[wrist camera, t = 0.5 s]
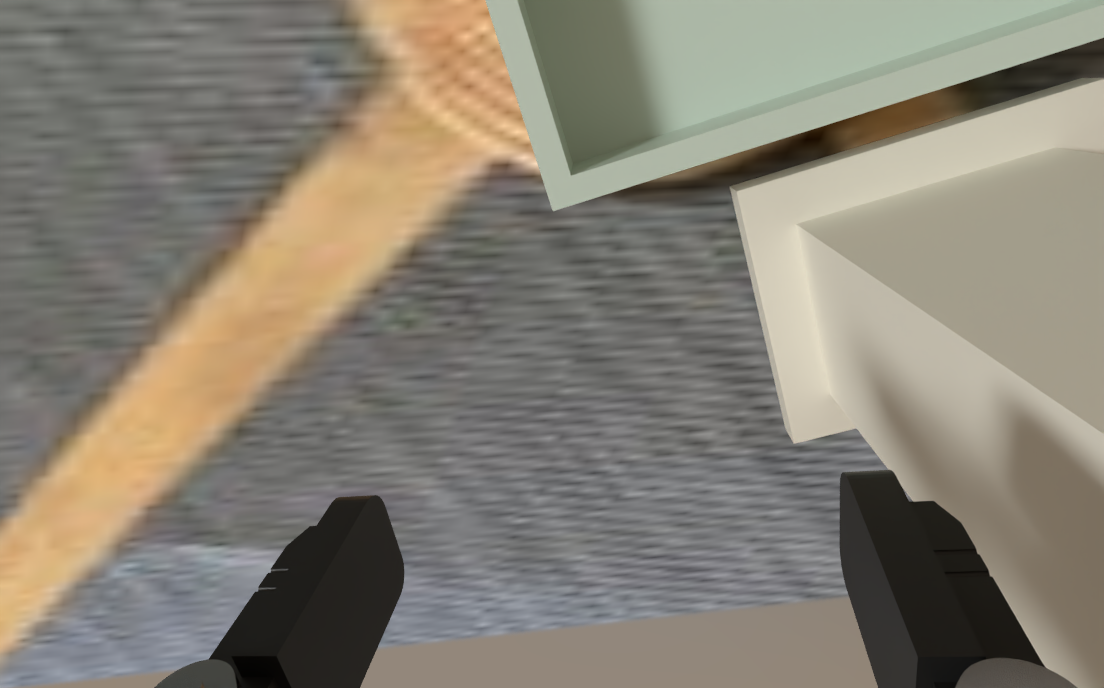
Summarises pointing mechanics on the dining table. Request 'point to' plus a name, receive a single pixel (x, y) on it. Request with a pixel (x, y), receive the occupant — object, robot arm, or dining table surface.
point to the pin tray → (742, 72)
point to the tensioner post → (960, 335)
